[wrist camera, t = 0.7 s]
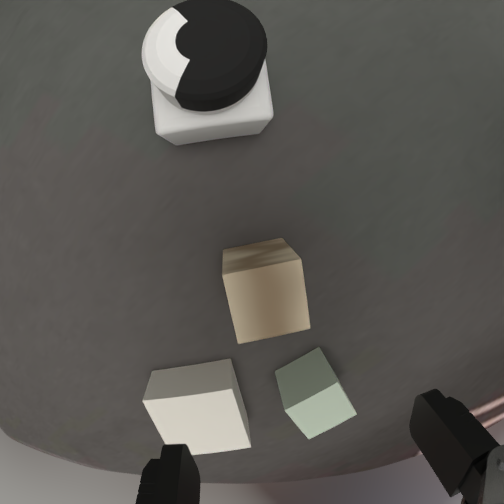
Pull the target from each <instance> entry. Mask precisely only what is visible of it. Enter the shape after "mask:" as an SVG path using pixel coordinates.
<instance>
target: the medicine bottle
mask: <svg viewBox="0 0 504 504" xmlns="http://www.w3.org/2000/svg"><path fill="white" fill-rule="evenodd" d="M266 53H267V38H266V34H265V31H264V28H263V26H262V24H261V23H260V21H259V20H258V18H257V17H256V16H255V15H254V14H253V13H252V12H251V11H250V10H248V9H247V8H245V7H244V6H242V5H240V4H238V3H236V2H233V1H230V0H187V1H184V2H182V3H179V4H177V5H175V6H173V7H171V8H170V9H168V10H167V11H165V12H164V13H163V14H162V15H160V16H159V17H158V18H157V19H156V20H155V22H154V23H153V24H152V25H151V27H150V28H149V30H148V32H147V34H146V36H145V39H144V42H143V46H142V61H143V66H144V69H145V71H146V73H147V75H148V77H149V78H150V80H151V91H152V102H153V112H154V122H155V131H156V133H157V134H158V135H159V136H161V137H163V138H164V139H166V140H168V141H169V142H171V143H172V144H174V145H177V146H178V145H184V144H190V143H196V142H202V141H209V140H215V139H222V138H230V137H238V136H246V135H254V134H259V133H261V131H262V130H263V129H264V128H265V126H266V125H267V124H268V123H269V121H270V120H271V119H272V118H273V114H274V113H273V106H272V100H271V93H270V86H269V80H268V73H267V67H266V61H265V57H266Z"/></svg>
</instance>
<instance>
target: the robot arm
mask: <svg viewBox="0 0 504 504" xmlns="http://www.w3.org/2000/svg"><path fill="white" fill-rule="evenodd" d="M410 433H411V436H412V438H413V440H414V441H415V443H416V444H417V446H418V447H419V449H420V450H421V452H422V453H423V455H424V456H425V458H426V460H427V461H428V462H429V464H430V466H431V467H432V469H433V470H434V472H435V474H436V475H437V477H438V478H439V480H440V482H441V483H442V485H443V486H444V488H445V489H446V491H447V492H448V494H449V496H450V497H452V496H454V495H456V494H458V493H460V492H461V494H462V495H463V498H462V501H461V504H504V445H499V444H498V443H497V442H496V440H495V439H494V438H493V437H492V436H491V435H490V434H489V432H488V431H487V430H486V429H485V428H484V427H483V426H482V425H481V423H480V422H479V421H478V420H477V419H475V417H474V416H473V415H472V413H469V410H468V409H467V408H466V407H465V406H464V405H463V404H462V403H461V402H460V401H458V400H456V399H454V398H452V397H448V398H445V397H444V396H443V395H442V393H441V392H440V391H439V390H437V389H433V390H430V391H428V392H425V393H423V394H420V395H418V396H417V397H416V398H415V402H414V407H413V411H412V416H411V420H410ZM140 483H141V484H140V485H139V490H138V492H139V494H138V495H137V499H136V504H199V501H200V475H199V471H198V468H197V466H196V463H195V461H194V459H193V457H192V455H191V453H190V450H189V448H188V446H187V445H186V444H164V445H163V447H162V451H161V457H160V459H151V460H150V461H149V462H148V464H147V465H146V466H145V468H144V469H143V472H142V476H141V481H140Z"/></svg>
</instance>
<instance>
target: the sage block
mask: <svg viewBox="0 0 504 504" xmlns="http://www.w3.org/2000/svg"><path fill="white" fill-rule="evenodd" d="M275 375H276V379H277V383H278V387H279V391H280V395H281V399H282V402H283V406H284V410H285V411H286V413H287V414H288V415H289V416H290V418H291V419H292V420H293V421H294V422H295V424H296V425H297V426H298V427H299V428H300V430H301V431H302V432H303V433H304V434H305V436H306V437H307V438H308V439H310V438H313V437H315V436H317V435H319V434H321V433H323V432H325V431H327V430H329V429H330V428H332V427H334V426H336V425H338V424H340V423H342V422H344V421H346V420H347V419H349V418H351V417H353V416H354V415H356V414H357V413H356V412H355V410H354V408H353V406H352V404H351V402H350V400H349V398H348V397H347V395H346V393H345V391H344V389H343V387H342V385H341V384H340V382H339V380H338V378H337V376H336V375H335V373H334V371H333V370H332V368H331V366H330V364H329V363H328V361H327V359H326V358H325V356H324V354H323V352H322V351H321V349H320V347H318V348H316V349H314V350H313V351H311V352H309V353H307V354H306V355H304V356H302V357H300V358H298V359H297V360H295V361H293V362H291V363H289V364H287V365H286V366H284V367H282V368H280V369H278V370H276V371H275Z"/></svg>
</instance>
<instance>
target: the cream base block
mask: <svg viewBox="0 0 504 504" xmlns="http://www.w3.org/2000/svg"><path fill="white" fill-rule="evenodd" d="M143 403H144V405H145V407H146V409H147V411H148V412H149V414H150V416H151V418H152V420H153V422H154V424H155V426H156V428H157V429H158V431H159V433H160V435H161V437H162V438H163V440H164V442H165V444H186V445H187V446H188V448H189V450H190V453H191V455H196V454H206V453H215V452H223V451H230V450H237V449H243V448H249V447H251V442H250V433H249V424H248V416H247V412H246V409H245V406H244V403H243V399H242V396H241V392H240V389H239V386H238V382H237V379H236V375H235V372H234V368H233V365H232V361H231V358H230V359H224V360H219V361H213V362H207V363H202V364H195V365H189V366H183V367H176V368H169V369H162V370H154V371H152V373H151V376H150V379H149V382H148V385H147V388H146V391H145V394H144V398H143Z"/></svg>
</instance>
